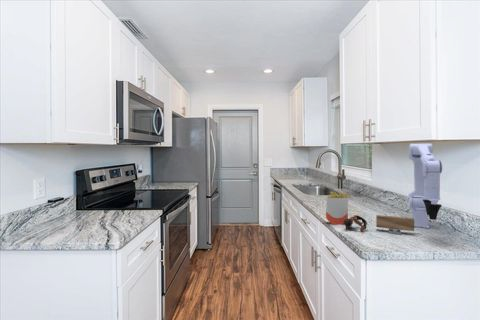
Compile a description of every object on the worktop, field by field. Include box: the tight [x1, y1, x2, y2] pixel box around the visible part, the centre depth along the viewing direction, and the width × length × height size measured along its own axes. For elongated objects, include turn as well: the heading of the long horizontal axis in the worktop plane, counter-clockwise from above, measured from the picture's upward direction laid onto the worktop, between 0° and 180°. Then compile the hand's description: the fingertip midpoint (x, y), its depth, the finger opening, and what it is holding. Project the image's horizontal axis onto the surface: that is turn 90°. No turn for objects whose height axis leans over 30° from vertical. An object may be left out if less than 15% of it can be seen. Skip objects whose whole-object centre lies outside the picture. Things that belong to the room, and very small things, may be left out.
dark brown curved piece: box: [343, 214, 368, 233], centre depth 133 cm, size 12×10×8 cm
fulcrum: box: [388, 228, 402, 236], centre depth 128 cm, size 7×5×2 cm
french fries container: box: [325, 191, 349, 226], centre depth 145 cm, size 5×11×18 cm, turn 84°
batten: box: [375, 214, 415, 232], centre depth 128 cm, size 4×16×6 cm, turn 61°
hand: (431, 217), depth 116 cm, fingers open, 7 cm apart
